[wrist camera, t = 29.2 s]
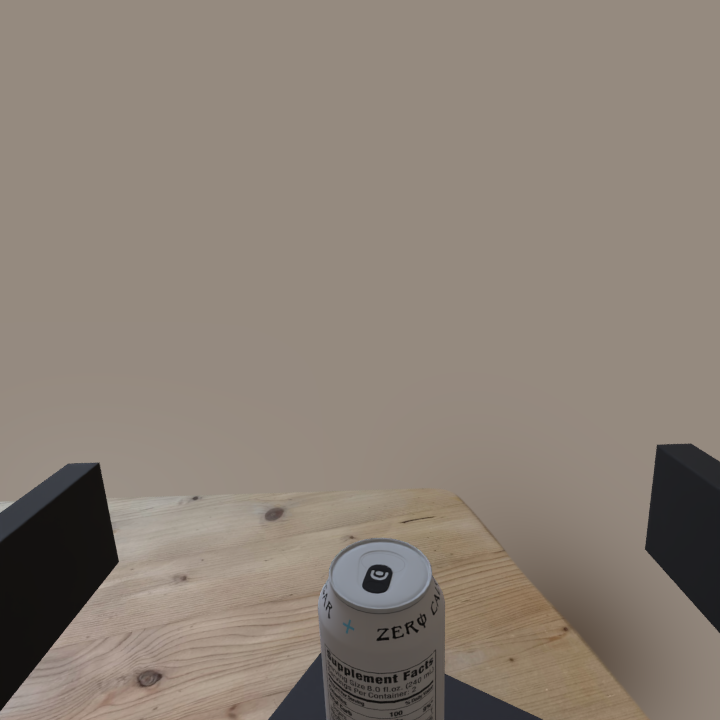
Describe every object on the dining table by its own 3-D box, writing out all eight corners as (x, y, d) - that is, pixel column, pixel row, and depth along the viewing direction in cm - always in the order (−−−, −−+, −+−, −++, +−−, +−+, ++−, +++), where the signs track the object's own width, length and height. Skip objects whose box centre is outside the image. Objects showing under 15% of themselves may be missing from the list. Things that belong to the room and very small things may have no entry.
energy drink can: (448, 759, 28) (451, 539, 24) (436, 892, 22) (437, 633, 18) (351, 733, 29) (338, 524, 26) (317, 852, 24) (294, 606, 20)
